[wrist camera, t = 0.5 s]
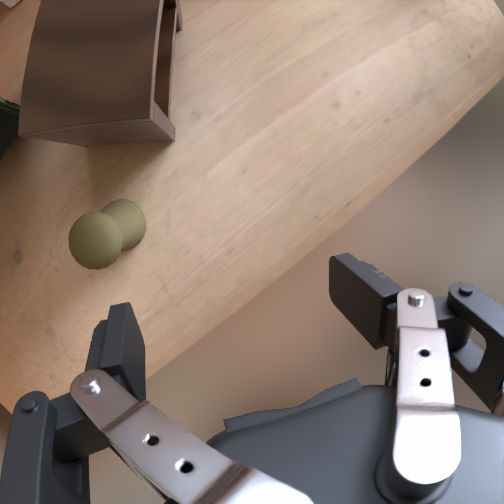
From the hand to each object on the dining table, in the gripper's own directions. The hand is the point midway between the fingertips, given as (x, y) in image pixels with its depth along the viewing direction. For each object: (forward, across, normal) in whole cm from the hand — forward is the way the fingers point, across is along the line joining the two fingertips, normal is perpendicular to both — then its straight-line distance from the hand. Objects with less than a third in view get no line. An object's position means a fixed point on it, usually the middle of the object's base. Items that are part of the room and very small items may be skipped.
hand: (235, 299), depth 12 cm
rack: (+29, +4, -14) cm, 32 cm away
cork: (+26, +8, +3) cm, 28 cm away
